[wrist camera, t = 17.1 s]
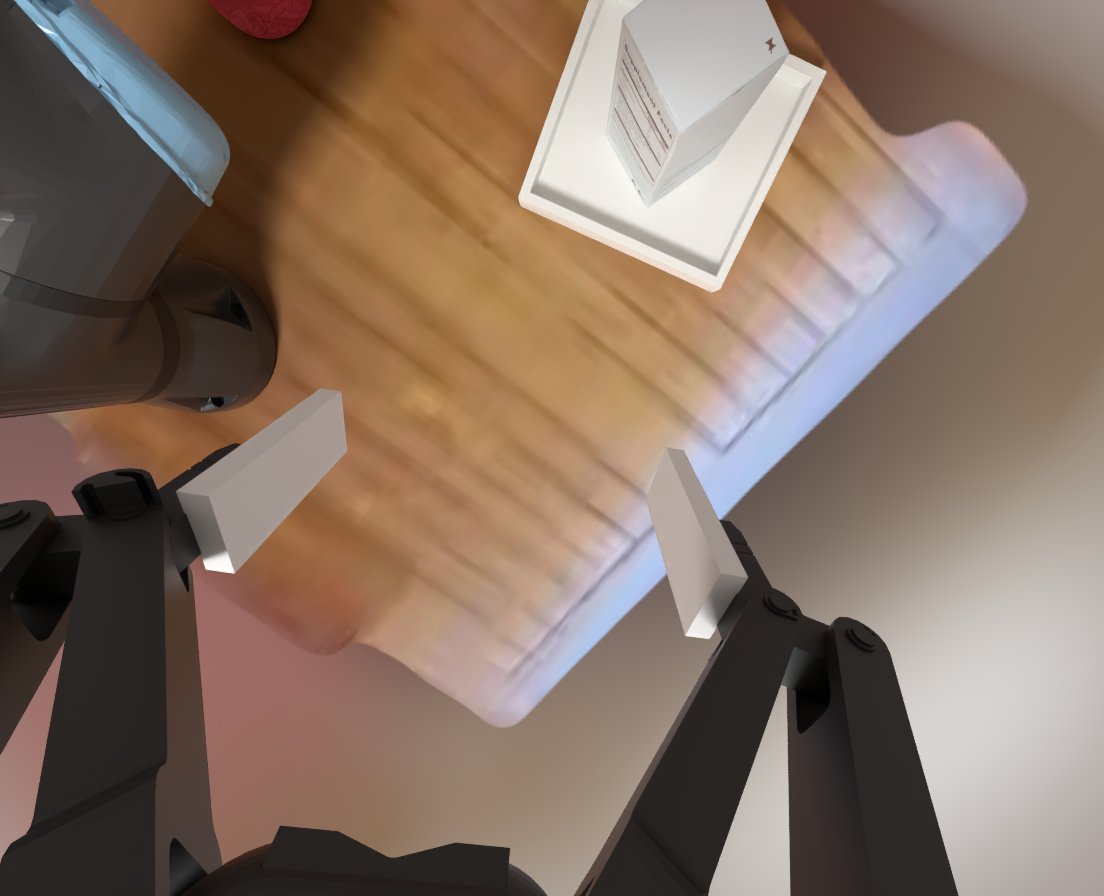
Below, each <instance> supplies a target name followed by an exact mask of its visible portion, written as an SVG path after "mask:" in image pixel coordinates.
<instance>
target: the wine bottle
mask: <svg viewBox="0 0 1104 896" xmlns="http://www.w3.org/2000/svg"><path fill="white" fill-rule="evenodd" d="M206 1H207V2H208V3H209V4H211V5H212V6H213V7H214V8H215V9H216V10H217V11H218V12H219V13H220V14H221V15H223V16H224V17H225V18H226V19H227V20H228V21H230V22H231V23H232V24H233V25H235V26H236V27H237V28H239V29H240V30H242V31H244V32H245V33H247V34H249V35H252V36H254V37H258V38H263V39H276V38H281V37H284V36H286V35H288V34H290V33H292V32H293V31H295V30H296V29H297V28H298V27H299V26H300V25H301V23H302V22H303V21H304V19H305V18H306V16H307V14H308V12H309V10H310V7H311V4H312V0H206Z"/></svg>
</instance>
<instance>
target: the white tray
mask: <svg viewBox="0 0 1104 896" xmlns="http://www.w3.org/2000/svg"><path fill="white" fill-rule="evenodd" d="M642 1H644V0H589V1H588V4H587V7H586V10H585V12H584V15H583V18H582V21H581V24H580V26H579V29H578V32H577V35H576V38H575V40H574V43H573V46H572V49H571V52H570V54H569V57H568V60H567V63H566V66H565V68H564V71H563V74H562V77H561V80H560V82H559V85H558V88H557V91H556V94H555V96H554V99H553V102H552V105H551V108H550V110H549V113H548V116H547V119H546V121H545V124H544V127H543V130H542V133H541V135H540V138H539V141H538V144H537V147H536V149H535V152H534V155H533V158H532V161H531V163H530V166H529V169H528V172H527V175H526V177H525V180H524V183H523V186H522V189H521V191H520V194H519V197H518V199H519V202H520V205H521V207H524V208H526V209H528V210H530V211H533V212H535V213H537V214H539V215H541V216H544V217H546V218H548V219H550V220H552V221H555V222H557V223H559V224H561V225H564V226H566V227H568V228H570V229H572V230H575V231H577V232H579V233H581V234H584V235H586V236H588V237H590V238H592V239H595V240H597V241H599V242H601V243H603V244H606V245H608V246H610V247H612V248H615V249H617V250H619V251H621V252H623V253H626V254H628V255H630V256H632V257H635V258H637V259H639V260H641V261H643V262H646V263H648V264H650V265H652V266H654V267H657V268H659V269H661V270H663V271H666V272H668V273H670V274H672V275H674V276H677V277H679V278H681V279H683V280H686V281H688V282H690V283H692V284H694V285H697V286H699V287H701V288H703V289H705V290H708V291H710V292H712V293H713V292H715V291H717V290H719V289H720V288H721V286H722V284H723V282H724V280H725V278H726V276H727V274H728V272H729V270H730V268H731V266H732V264H733V262H734V260H735V258H736V256H737V253H738V251H739V249H740V247H741V245H742V243H743V241H744V239H745V237H746V235H747V233H748V231H749V229H750V227H751V225H752V223H753V221H754V219H755V217H756V215H757V213H758V211H759V209H760V207H761V205H762V203H763V201H764V199H765V196H766V194H767V192H768V190H769V188H770V186H771V184H772V182H773V180H774V178H775V176H776V174H777V172H778V170H779V168H780V166H781V164H782V162H783V160H784V158H785V156H786V154H787V152H788V150H789V148H790V146H791V144H792V141H793V139H794V137H795V135H796V133H797V131H798V129H799V127H800V125H801V123H802V121H803V119H804V117H805V115H806V113H807V111H808V109H809V107H810V105H811V103H812V101H813V99H814V97H815V95H816V93H817V91H818V89H819V87H820V84H821V82H822V80H823V78H824V76H825V74H826V71H824V70H822V69H820V68H818V67H816V66H814V65H812V64H810V63H808V62H806V61H804V60H802V59H800V58H798V57H796V56H793V55H791V54H789V56H788V57H787V59H786V60H785V62H784V63H783V64H782V66H781V67H780V69H779V70H778V71H777V73H776V74H775V76H774V77H773V78H772V80H771V81H770V83H769V84H768V85H767V87H766V88H765V90H764V91H763V93H762V94H761V95H760V97H759V98H758V100H757V101H756V102H755V104H754V105H753V107H752V108H751V109H750V111H749V112H748V114H747V115H746V117H745V118H744V119H743V121H742V122H741V124H740V125H739V126H738V128H737V129H736V131H735V132H734V133H733V135H732V136H731V138H730V139H729V140H728V142H727V143H726V145H725V146H724V148H723V149H722V150H721V152H720V153H719V155H718V156H717V157H716V159H715V160H714V161H712V162H711V163H710V164H708V165H707V166H706V167H704V168H703V169H701V170H700V171H699V172H697V173H696V174H695V175H693V176H692V177H690V178H689V179H688V180H686V181H685V182H683V183H682V184H681V185H679V186H678V187H677V188H675V189H674V190H672V191H671V192H670V193H668V194H667V195H665V196H664V197H663V198H661V199H660V200H658V201H657V202H655V203H654V204H652V205H651V206H649V207H648V208H646V207H645V205H644V203H643V201H642V200H641V198H640V196H639V194H638V192H637V191H636V189H635V187H634V185H633V184H632V182H631V180H630V178H629V176H628V174H627V173H626V171H625V169H624V167H623V165H622V164H621V162H620V160H619V158H618V156H617V155H616V153H615V151H614V149H613V147H612V146H611V144H610V142H609V140H608V138H607V137H606V129H607V122H608V115H609V108H610V101H611V95H612V88H613V81H614V74H615V67H616V60H617V54H618V47H619V40H620V34H621V27H622V19H623V17H624V16H625V15H626V14H628V13H629V12H630V11H631V10H633V9H634V8H635V7H636V6H637V5H639V4H640V3H641V2H642Z"/></svg>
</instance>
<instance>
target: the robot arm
mask: <svg viewBox="0 0 1104 896" xmlns="http://www.w3.org/2000/svg"><path fill="white" fill-rule="evenodd" d="M229 160H230V149H229V145H228V142H227V139H226V137H225V135H224V133H223V132H222V130H221V129H220V127H219V126H218V125H217V123H216V122H215V121H214V120H213V119H212V117H211V116H210V115H209V114H208V113H207V112H206V111H205V110H204V109H203V108H202V107H201V106H200V105H199V104H198V103H197V102H196V101H195V100H194V99H193V98H192V97H191V96H190V95H189V94H188V93H187V92H186V91H185V90H184V89H183V88H182V87H181V86H180V85H179V84H178V83H177V82H176V81H175V80H174V79H173V78H172V77H171V76H170V75H169V74H168V73H166V72H165V71H164V70H163V69H162V68H161V67H160V66H159V65H158V64H157V63H156V62H155V61H154V60H153V59H152V58H151V57H150V56H149V55H147V54H146V53H145V52H144V51H143V50H142V49H141V48H140V47H139V46H138V45H137V44H136V43H135V42H134V41H133V40H131V39H130V38H129V37H128V36H127V35H126V34H125V33H124V32H123V31H122V30H121V29H120V28H118V27H117V26H116V25H115V24H114V23H113V22H112V21H111V20H110V19H109V18H108V17H107V16H106V15H104V14H103V13H102V12H101V11H100V10H99V9H98V8H97V7H96V6H95V5H94V4H93V3H91V2H90V1H89V0H0V418H8V417H16V416H26V415H33V414H42V413H52V412H60V411H69V410H78V409H86V408H95V407H104V406H113V405H120V404H130V403H142V404H148V405H153V406H158V407H164V408H169V409H174V410H180V411H185V412H191V413H213V412H220V411H227V410H232V409H236V408H239V407H241V406H244V405H246V404H248V403H249V402H251V401H252V400H253V399H255V398H256V397H257V396H258V395H259V394H260V393H261V392H262V391H263V389H264V388H265V387H266V385H267V383H268V381H269V379H270V377H271V375H272V372H273V368H274V364H275V356H276V345H275V337H274V332H273V328H272V325H271V322H270V319H269V317H268V314H267V312H266V310H265V308H264V307H263V305H262V303H261V302H260V300H259V299H258V297H257V296H256V295H255V294H254V292H253V291H252V290H251V289H250V288H249V287H248V286H247V285H246V284H245V283H244V282H243V281H242V280H240V279H239V278H238V277H237V276H235V275H234V274H232V273H231V272H229V271H227V270H225V269H223V268H221V267H219V266H216V265H214V264H210V263H207V262H203V261H199V260H196V259H192V258H187V257H181V256H175V255H176V254H177V252H178V250H179V249H180V247H181V245H182V244H183V242H184V241H185V239H186V237H187V236H188V234H189V232H190V231H191V229H192V228H193V226H194V224H195V223H196V221H197V219H198V218H199V216H200V215H201V213H202V211H203V210H204V208H205V206H209V207H211V205H212V204H213V199H212V195H213V193H214V191H215V189H216V187H217V185H218V183H219V182H220V180H221V178H222V176H223V174H224V172H225V170H226V168H227V167H228V164H229ZM346 452H347V445H346V435H345V425H344V415H343V406H342V396H341V392H340V391H334V390H329V389H323V388H320V389H319V390H318V391H316V392H315V393H313V394H312V395H311V396H309V397H308V398H306V399H305V400H304V401H302V402H301V403H299V404H298V405H297V406H295V407H294V408H292V409H291V410H290V411H288V412H287V413H285V414H284V415H283V416H281V417H280V418H278V419H277V420H276V421H274V422H273V423H271V424H270V425H268V426H267V427H266V428H264V429H263V430H261V431H260V432H259V433H257V434H256V435H254V436H253V437H252V438H250V439H249V440H247V441H246V442H245V443H243V444H237V443H234V444H232V445H229V446H226V447H224V448H221V449H219V450H216V451H215V452H213V453H212V454H210V455H209V456H207V457H206V458H204V459H203V460H202V462H198V463H197V464H195V465H194V466H192V467H191V469H190V470H186V471H185V472H184V473H182V474H181V475H179V476H178V477H176V478H175V479H173V480H172V481H170V482H169V483H167V484H166V485H164V486H163V487H161V488H160V489H158V490H157V488H156V485H155V483H154V480H153V478H152V476H151V474H150V472H147V471H145V470H142V469H132V468H128V469H117V470H112V471H107V472H103V473H99V474H97V475H94V476H92V477H89V478H87V479H85V480H83V481H82V482H80V483H79V484H77V485H76V486H75V487H74V489H73V490H72V494H73V496H74V498H75V499H76V501H77V503H78V505H79V507H80V508H81V510H82V512H83V513H84V515H69V516H55V515H54V513H53V511H52V510H51V508H50V507H49V505H48V504H47V503H45V502H41V501H37V500H22V501H16V502H10V503H3V504H0V755H1V753H2V751H3V749H4V748H5V746H6V744H7V742H8V741H9V739H10V737H11V735H12V733H13V731H14V730H15V728H16V726H17V724H18V723H19V721H20V719H21V717H22V716H23V714H24V712H25V710H26V709H27V707H28V705H29V703H30V701H31V700H32V698H33V696H34V694H35V693H36V691H37V689H38V687H39V685H40V684H41V682H42V680H43V678H44V676H45V675H46V673H47V671H48V669H49V668H50V666H51V664H52V662H53V660H54V659H55V657H56V655H57V653H58V651H59V650H60V648H61V646H62V644H63V642H64V641H65V644H64V649H63V655H62V661H61V666H60V671H59V677H58V683H57V688H56V694H55V700H54V705H53V710H52V716H51V722H50V728H49V733H48V738H47V744H46V750H45V755H44V761H43V766H42V772H41V777H40V783H39V788H38V794H37V800H36V806H35V811H34V817H33V820H32V823H31V827H30V828H29V830H28V832H27V833H26V835H24V836H22V837H21V838H19V839H18V840H16V841H14V842H13V843H11V844H10V846H9V847H8V849H7V850H6V852H5V854H4V855H3V857H2V859H1V862H0V896H547V895H546V893H545V892H544V891H543V890H542V888H541V887H540V886H539V885H538V884H537V883H536V882H535V881H534V880H533V879H532V878H531V877H530V876H528V875H527V874H526V873H524V872H523V871H522V870H520V869H519V868H517V867H515V866H513V865H511V864H509V853H510V848H505V847H495V846H484V845H474V844H464V843H452V844H448V845H444V846H440V847H437V848H433V849H429V850H425V851H421V852H417V853H413V854H409V855H405V856H401V857H397V858H390V857H387V856H385V855H383V854H381V853H379V852H377V851H375V850H373V849H371V848H369V847H367V846H365V845H364V844H361V843H360V842H358V841H356V840H353V839H352V838H350V837H348V836H346V835H344V834H342V833H340V832H338V831H329V830H319V829H308V828H298V827H288V826H280V827H279V829H278V832H277V834H276V836H275V838H274V840H273V842H272V843H271V844H267V845H264V846H261V847H259V848H256V849H253V850H251V851H248V852H246V853H244V854H242V855H241V856H238V857H236V858H234V859H233V860H231V861H229V862H227V863H225V864H224V865H222V859H221V854H220V849H219V845H218V841H217V838H216V835H215V831H214V826H213V820H212V811H211V799H210V786H209V774H208V762H207V749H206V736H205V724H204V712H203V699H202V687H201V675H200V663H199V650H198V638H197V625H196V613H195V600H194V588H193V575H192V571H191V569H190V567H189V565H190V564H191V563H192V562H193V561H194V560H195V559H196V558H197V557H198V556H199V555H201V557H202V560H203V563H204V565H205V568H206V569H207V570H214V571H221V572H228V573H236V571H237V570H238V569H239V568H240V567H241V566H242V565H243V564H244V563H245V562H246V561H247V560H248V558H249V557H250V556H251V555H252V554H253V553H254V552H255V551H256V550H257V549H258V548H259V546H260V545H261V544H262V543H263V542H264V541H265V540H266V539H267V538H268V537H269V536H270V534H271V533H272V532H273V531H274V530H275V529H276V528H277V527H278V526H279V525H280V524H281V523H282V521H283V520H284V519H285V518H286V517H287V516H288V515H289V514H290V513H291V512H292V511H293V509H294V508H295V507H296V506H297V505H298V504H299V503H300V502H301V501H302V500H303V499H304V498H305V496H306V495H307V494H308V493H309V492H310V491H311V490H312V489H313V488H314V487H315V486H316V484H317V483H318V482H319V481H320V480H321V479H322V478H323V477H324V476H325V475H326V474H327V472H328V471H329V470H330V469H331V468H332V467H333V466H334V465H335V464H336V463H337V462H338V461H339V459H340V458H341V457H342V456H343V455H344V454H345V453H346ZM646 502H647V505H648V509H649V512H650V516H651V519H652V522H653V526H654V529H655V533H656V536H657V540H658V543H659V547H660V550H661V554H662V557H663V561H664V564H665V568H666V571H667V574H668V578H669V581H670V585H671V588H672V591H673V595H674V599H675V602H676V606H677V609H678V613H679V616H680V620H681V623H682V626H683V630H684V633H685V636H691V637H698V638H705V639H710V637H711V635H712V634H713V632H714V631H715V629H716V628H717V627H718V630H719V632H720V635H721V638H722V640H721V641H720V643H719V644H718V646H717V648H716V649H715V650H714V652H713V653H712V655H711V657H710V658H709V660H708V661H709V662H708V664H707V665H706V667H705V669H704V671H703V672H702V674H701V676H700V678H699V679H698V681H697V683H696V685H695V686H694V688H693V690H692V692H691V693H690V695H689V697H688V699H687V700H686V702H685V704H684V706H683V708H682V709H681V711H680V713H679V715H678V716H677V718H676V720H675V722H674V724H673V725H672V727H671V729H670V730H669V732H668V734H667V736H666V737H665V739H664V741H663V743H662V744H661V746H660V748H659V750H658V751H657V753H656V755H655V757H654V758H653V760H652V762H651V764H650V765H649V767H648V769H647V771H646V773H645V774H644V776H643V778H642V780H641V781H640V783H639V785H638V787H637V789H636V790H635V792H634V794H633V795H632V797H631V799H630V801H629V802H628V804H627V806H626V808H625V810H624V811H623V813H622V815H621V817H620V818H619V820H618V822H617V824H616V825H615V827H614V829H613V831H612V832H611V834H610V836H609V837H608V839H607V841H606V843H605V845H604V846H603V848H602V850H601V852H600V854H599V855H598V857H597V859H596V860H595V862H594V864H593V865H592V867H591V869H590V870H589V872H588V873H587V875H586V877H585V878H584V880H583V881H582V883H581V885H580V886H579V888H578V890H577V891H576V893H575V895H574V896H708V893H709V888H710V884H711V881H712V878H713V875H714V873H715V870H716V867H717V864H718V861H719V858H720V855H721V853H722V850H723V847H724V844H725V841H726V839H727V835H728V833H729V830H730V827H731V824H732V822H733V819H734V816H735V813H736V810H737V807H738V805H739V802H740V799H741V796H742V793H743V790H744V788H745V785H746V782H747V779H748V776H749V773H750V771H751V768H752V765H753V762H754V759H755V756H756V753H757V751H758V748H759V745H760V742H761V739H762V737H763V733H764V731H765V728H766V725H767V722H768V720H769V716H770V714H771V711H772V708H773V705H774V702H775V700H776V697H777V694H778V691H779V688H780V686H781V685H783V686H786V687H787V719H788V721H787V722H788V774H789V830H790V831H789V832H790V834H789V835H790V888H791V889H790V890H791V896H958V892H957V889H956V885H955V882H954V878H953V875H952V871H951V867H950V864H949V860H948V857H947V854H946V850H945V846H944V843H943V839H942V836H941V832H940V828H939V825H938V821H937V818H936V814H935V811H934V807H933V804H932V800H931V797H930V793H929V790H928V786H927V783H926V779H925V776H924V772H923V769H922V765H921V761H920V758H919V754H918V751H917V747H916V743H915V740H914V736H913V733H912V730H911V726H910V722H909V719H908V715H907V711H906V708H905V704H904V701H903V697H902V694H901V690H900V687H899V684H898V680H897V676H896V672H895V669H894V665H893V662H892V658H891V655H890V652H889V650H888V648H887V646H886V644H885V643H884V642H883V640H882V639H881V638H880V637H879V636H878V635H877V634H876V633H875V632H874V631H872V630H871V629H870V628H869V627H867V626H865V625H864V624H862V623H860V622H859V621H857V620H853V619H851V618H848V617H839V618H837V619H836V620H834V621H833V623H832V624H831V625H830V626H829V625H826V624H824V623H821V622H819V621H816V620H814V619H811V618H808V617H806V616H804V615H802V612H801V610H800V608H799V607H798V606H797V605H796V603H795V602H794V601H793V600H792V599H791V598H789V597H788V596H787V595H785V594H784V593H782V592H780V591H778V590H776V589H774V588H772V587H771V585H770V583H769V581H768V579H767V578H766V576H765V574H764V572H763V570H762V569H761V567H760V565H759V563H758V561H757V560H756V558H755V556H753V553H752V551H751V549H750V547H749V546H748V544H747V542H746V540H745V538H744V537H743V535H742V533H741V532H740V531H739V530H738V529H737V528H736V527H735V526H734V525H733V524H732V523H731V522H730V521H724V520H719V519H718V517H717V515H716V513H715V511H714V509H713V507H712V505H711V503H710V501H709V499H708V497H707V495H706V493H705V492H704V490H703V488H702V486H701V484H700V482H699V480H698V478H697V476H696V474H695V472H694V470H693V468H692V466H691V464H690V462H689V460H688V458H687V456H686V454H685V452H684V450H678V449H672V448H667V447H666V448H665V451H664V453H663V456H662V458H661V461H660V464H659V466H658V469H657V472H656V474H655V477H654V479H653V482H652V485H651V487H650V490H649V492H648V495H647V498H646Z"/></svg>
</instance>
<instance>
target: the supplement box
mask: <svg viewBox="0 0 1104 896" xmlns="http://www.w3.org/2000/svg"><path fill="white" fill-rule="evenodd" d="M789 53H790V52H789V50H788V48H787V46H786V44H785V42H784V40H783V38H782V35H781V33H780V31H779V29H778V26H777V24H776V22H775V20H774V18H773V16H772V13H771V11H770V9H769V7H768V5H767V3H766V0H644V1H642V2H641V3H640V4H639V5H637V6H636V7H635V8H634V9H633V10H631V11H630V12H629V13H628V14H626V15H625V16H624V17H623V19H622V27H621V34H620V40H619V47H618V54H617V60H616V67H615V74H614V81H613V88H612V95H611V101H610V108H609V115H608V122H607V129H606V137H607V138H608V140H609V142H610V144H611V146H612V147H613V149H614V151H615V153H616V155H617V156H618V158H619V160H620V162H621V164H622V165H623V167H624V169H625V171H626V173H627V174H628V176H629V178H630V180H631V182H632V184H633V185H634V187H635V189H636V191H637V192H638V194H639V196H640V198H641V200H642V201H643V203H644V205H645V207H646V208H648V207H649V206H651V205H652V204H654V203H655V202H657V201H658V200H660V199H661V198H663V197H664V196H665V195H667V194H668V193H670V192H671V191H672V190H674V189H675V188H677V187H678V186H679V185H681V184H682V183H683V182H685V181H686V180H688V179H689V178H690V177H692V176H693V175H695V174H696V173H697V172H699V171H700V170H701V169H703V168H704V167H706V166H707V165H708V164H710V163H711V162H712V161H714V160H715V159H716V157H717V156H718V155H719V153H720V152H721V150H722V149H723V148H724V146H725V145H726V143H727V142H728V140H729V139H730V138H731V136H732V135H733V133H734V132H735V131H736V129H737V128H738V126H739V125H740V124H741V122H742V121H743V119H744V118H745V117H746V115H747V114H748V112H749V111H750V109H751V108H752V107H753V105H754V104H755V102H756V101H757V100H758V98H759V97H760V95H761V94H762V93H763V91H764V90H765V88H766V87H767V85H768V84H769V83H770V81H771V80H772V78H773V77H774V76H775V74H776V73H777V71H778V70H779V69H780V67H781V66H782V64H783V63H784V62H785V60H786V59H787V57H788V56H789Z"/></svg>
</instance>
